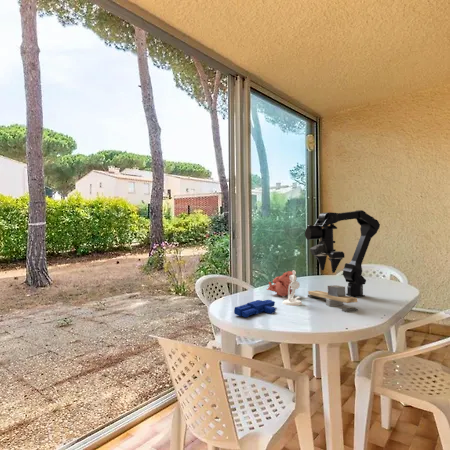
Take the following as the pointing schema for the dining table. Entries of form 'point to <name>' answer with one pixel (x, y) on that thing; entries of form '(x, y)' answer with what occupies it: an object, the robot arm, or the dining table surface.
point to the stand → (334, 303)
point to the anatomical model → (281, 284)
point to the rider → (336, 291)
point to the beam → (325, 295)
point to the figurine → (294, 286)
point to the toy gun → (255, 308)
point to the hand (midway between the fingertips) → (327, 271)
